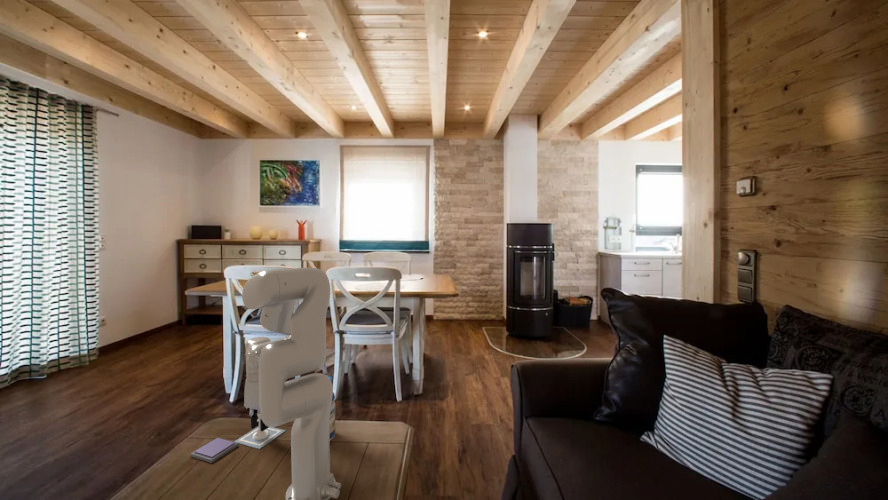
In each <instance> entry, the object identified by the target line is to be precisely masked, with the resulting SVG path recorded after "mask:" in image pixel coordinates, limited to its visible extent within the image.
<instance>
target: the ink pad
mask: <svg viewBox="0 0 888 500" xmlns="http://www.w3.org/2000/svg"><path fill="white" fill-rule="evenodd" d="M237 447H239V444H238V443H236V442H234V441H233V440H229V439H226V438H225V439H224V438H221V437H216V438H215V439H213V440H211V441H210V442H208V443H206V444H204V445H203V446H201V447H199V448H197V449H196V450H194V451H192V452H190V455H189V457H191V458H194V459H197V460H199V461H203V462H206V463H210V464H212V463H214V462H215V461H217V460H219V459H221V458H222V457H224V456H225V455H226V454H228V453H229V452H231V451H233V450H234V449H235V448H237Z"/></svg>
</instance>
